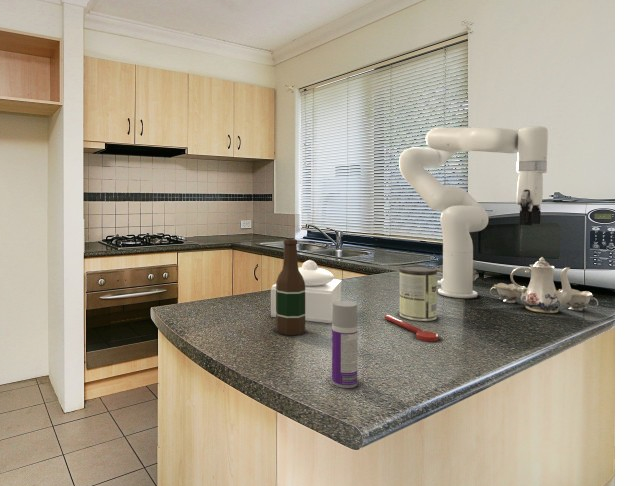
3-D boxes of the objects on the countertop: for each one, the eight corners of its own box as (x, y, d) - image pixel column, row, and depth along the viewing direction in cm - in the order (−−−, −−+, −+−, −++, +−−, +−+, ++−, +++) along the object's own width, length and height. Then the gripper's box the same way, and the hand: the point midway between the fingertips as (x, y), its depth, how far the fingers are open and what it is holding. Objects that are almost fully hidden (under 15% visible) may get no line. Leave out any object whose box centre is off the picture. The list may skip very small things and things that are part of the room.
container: (328, 378, 84) (328, 300, 84) (352, 377, 85) (352, 300, 84) (336, 388, 80) (336, 307, 79) (361, 387, 80) (361, 306, 80)
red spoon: (378, 319, 124) (378, 314, 124) (393, 318, 125) (393, 313, 125) (425, 342, 105) (425, 336, 105) (442, 340, 106) (443, 334, 106)
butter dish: (270, 316, 127) (270, 262, 127) (287, 302, 144) (287, 254, 143) (331, 323, 120) (331, 266, 120) (341, 307, 137) (341, 257, 137)
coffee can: (400, 310, 134) (400, 264, 134) (437, 314, 130) (437, 266, 129) (397, 318, 125) (397, 269, 124) (436, 323, 120) (437, 272, 120)
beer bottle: (308, 328, 116) (308, 238, 115) (302, 337, 108) (302, 241, 108) (279, 325, 118) (279, 237, 118) (272, 334, 111) (272, 240, 111)
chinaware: (591, 312, 137) (591, 259, 138) (605, 319, 123) (604, 260, 124) (489, 302, 150) (489, 253, 152) (491, 308, 136) (491, 254, 137)
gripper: (524, 169, 141) (523, 222, 141) (509, 167, 129) (507, 225, 129) (552, 168, 135) (551, 223, 136) (539, 166, 123) (537, 226, 124)
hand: (530, 224), depth 133 cm, fingers open, 9 cm apart
